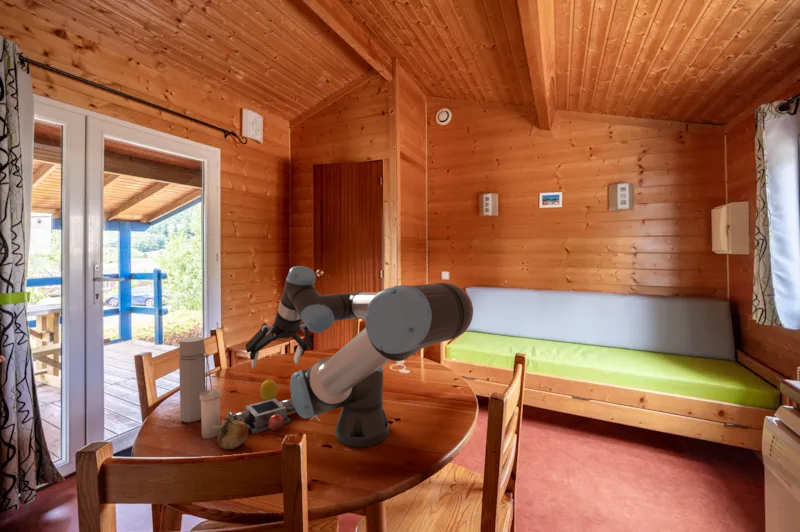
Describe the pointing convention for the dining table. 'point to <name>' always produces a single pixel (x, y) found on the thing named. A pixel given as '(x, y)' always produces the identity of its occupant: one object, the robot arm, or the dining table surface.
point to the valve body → (265, 415)
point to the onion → (231, 433)
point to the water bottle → (192, 377)
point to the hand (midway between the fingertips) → (274, 363)
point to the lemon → (268, 389)
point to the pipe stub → (210, 412)
